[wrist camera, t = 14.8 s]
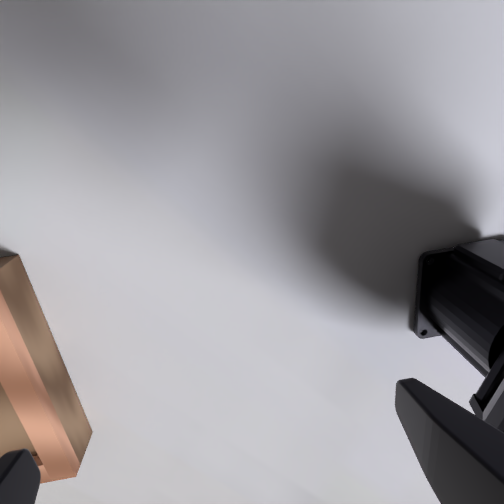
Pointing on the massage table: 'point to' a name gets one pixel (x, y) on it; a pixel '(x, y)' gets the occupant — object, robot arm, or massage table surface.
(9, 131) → the massage table surface
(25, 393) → the square wooden tray
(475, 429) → the robot arm
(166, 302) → the massage table surface
